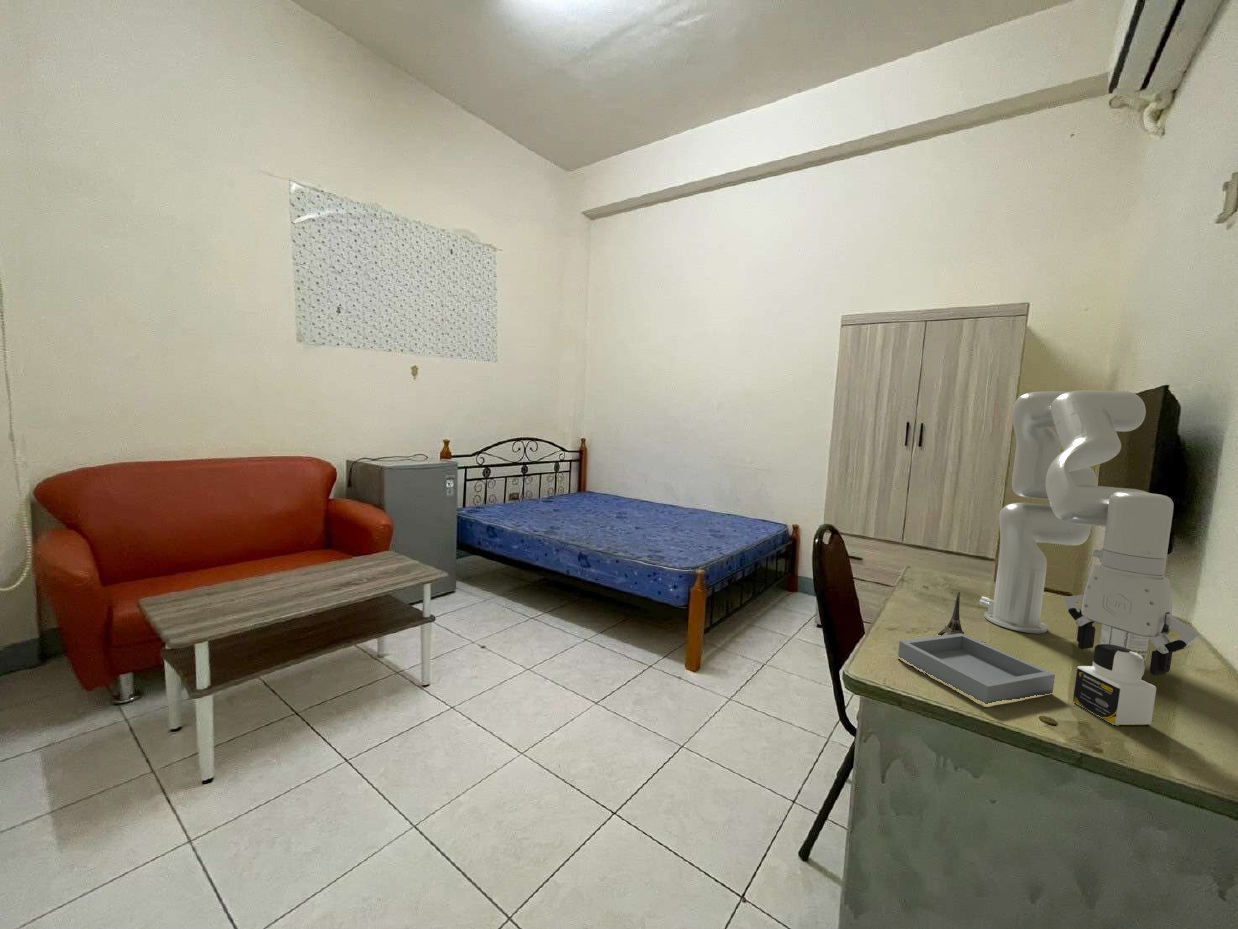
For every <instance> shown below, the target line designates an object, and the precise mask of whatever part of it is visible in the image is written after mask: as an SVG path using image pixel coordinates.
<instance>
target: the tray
mask: <svg viewBox="0 0 1238 929" xmlns="http://www.w3.org/2000/svg"><path fill="white" fill-rule="evenodd" d="M964 634H965V633H964ZM964 634H962V633H959V634H951V635H947V634H946V635H945V634H943V636H935V635H934V636H929V637H920V638H915V639H913V638H912V639H907V640H906V639H905V640H900V641H899V643H898V644H899V645H898V652H897V653H898V654H897V657H898V656H899V657H900V658H903V659H904V660H906V661H907V662H909V663H910V664H913V665H914V666H916V667H917V668H919V669H922V670H923V671H925V672H926V673H928V674H930V675H933V676H934V677H936V678H937V679H940V680H942V681H943V682H945V683H947V684H950V685H952V686H953V687H955V688H956V689H959V690H961V691H963V692H964V693H966V694H968V695H971V696H973V697H974V698H975V699H977V700H980V701H982V702H984V703H985V704H988V703H992V702H996V701H1002V700H1012V699H1020V698H1025V697H1030V696H1034V695H1036V696H1037V695H1045V694H1050V693H1053V692H1054V686H1055V678H1056V673H1054V672H1051V671H1048V670H1046V669H1044V668H1042V667H1040V666H1037V665H1035V664H1032V663H1030V662H1028V661H1026V660H1023V659H1022V658H1019V657H1016V656H1014V655H1012V654H1010V653H1007V652H1005V651H1003V650H1000V649H998V648H996V647H993V646H991V645H990V646H989V645H987V644H985V643H982V642H980V641H978V640H975V639H973V638H971V637H968V636H966V635H967V634H966V635H964Z"/></svg>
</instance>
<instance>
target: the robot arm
mask: <svg viewBox="0 0 1238 929" xmlns="http://www.w3.org/2000/svg"><path fill="white" fill-rule="evenodd" d="M1011 414H1012V415H1011V416H1012V417H1011V420H1012V425H1013V430H1014V435H1015V439H1016V440H1015V441H1016V445H1015V451H1014V452H1015V454H1014V459H1013V460H1014V461H1013V469H1012V476H1011V477H1012V478H1011V488H1012V491H1013V493H1014V494H1015V495H1017V496H1019V497H1022V498H1028V499H1036V500H1048V502H1049V504H1044V503H1043V504H1041V503H1031V502H1013V503H1009V504H1006V505H1004V507H1002V508H1001V510H1000V511H999V516H998V517H999V518H998V523H999V538H1000V539H999V542H1000V543H999V553H998V564H997V572H996V579H995V580H996V581H995V588H994V595H993V599H991V598H989V597H987V596H981V597H980V600H979V601H978V604H979V605H981V606H984V607H987V610H986V611H984V615H983V616H984V618H985V619H986V620H987V621H988V622H991V623H992V624H995V625H996V626H999V627H1002V628H1006V629H1009V630H1012V631H1018V632H1022V633H1027V634H1028V633H1029V634H1044V633H1046V632H1047V631H1048V625H1046V624H1045V623H1044V622H1042V621H1041V613H1042V606H1043V598H1044V591H1045V584H1046V578H1047V577H1046V576H1047V575H1046V574H1047V568H1048V561H1047V557H1046V555H1045V554H1044V552H1043V551H1042V550H1041V549H1040V547H1039V546H1038V544H1037V543H1043V544H1044V543H1046V544H1047V543H1048V544H1056V545H1063V546H1079V545H1082V544H1084V543H1086V541H1087V540H1088V538H1089V536H1090V533H1091V531H1092V527H1100V528H1101V527H1102V528H1105V530H1104V537H1103V538H1104V539H1103V547H1102V548H1101V550H1100V549H1095V550H1093V552H1092V555H1093V557H1094V558H1098V559H1099V563H1100V564H1094V565H1093V567H1092V570H1091V572H1090V574H1089V577H1088V580H1087V583H1086V586H1085V590H1084V594H1077V595H1070V596H1069V595H1068V596H1065V597H1063V600H1064V603H1065V605H1066V608H1067V609H1068V610H1067V611H1068V613H1069V614H1070V616H1071V617H1072V618H1073V620H1074V623H1075V625H1077V627H1078V628H1077V634H1076V635H1077V636H1076V642H1078V644H1077V648H1079V649H1081V650H1086V649H1087V650H1088V649H1093V648H1094V645H1095V638H1096V637H1095V636H1096V627H1095V626H1094V625H1093V624H1095V623H1097V624H1100V625H1102V624H1103V625H1106V626H1109V627H1112V628H1115V629H1118V630H1122V631H1125V632H1128V633H1131V634H1135V635H1138V636H1142V637H1148V638H1149V641H1150V642H1151V644H1152V645H1153V646H1154V647H1155V649H1156V650H1153V651H1152V652H1151V657H1150V658H1151V659H1150V665H1149V670H1148V672H1149V673H1150V675H1152V676H1155V677H1156V676H1163V675H1165V674H1166V673H1168V672H1170V670H1171V665H1172V657H1173V653H1175V652H1178V651H1181V650H1184V649H1187V648H1189V647H1191V645H1192V644H1193V643H1194V642H1196V641H1197V640H1198V639H1199V638H1200V637H1201V635H1200V633H1199V632H1198V631H1196V630H1195V629H1193V628H1191V627H1190V626H1189V625H1187V624H1185V623H1184V622H1183V621H1181V620H1179V619H1178V618H1177V617H1175V616H1173V595H1172V587H1171V583H1170V579H1169V577H1166V576H1165V573H1166V566H1167V565H1166V564H1167V558H1168V557H1167V556H1168V549H1169V544H1170V537H1171V536H1170V534H1171V528H1172V522H1173V516H1174V505H1175V504H1174V502H1173V500H1172V499H1171V497H1169V496H1168V495H1165V494H1164V495H1163V494H1158V493H1151V492H1148V491H1145V490H1142V489H1137V488H1125V487H1113V486H1102V485H1101V486H1100V485H1098V478H1097V475H1096V473H1095V471H1094V470H1093V469H1092V468H1091V467H1093V466H1094V467H1095V466H1097V465H1101V464H1104V463H1106V462H1108V461H1111V460H1112V459H1113V458H1115V457H1116V456H1117V455H1119V454H1120V451H1121V449H1122V443H1121V440H1120V438H1119V436H1118V432H1131V431H1134V430H1137V429H1138V428H1139V427H1140V426H1141V425H1142V424H1143V422H1144V421H1145V418H1146V414H1147V410H1146V406H1145V402H1144V401H1143V399H1142V398H1141V397H1140V396H1139V395H1138V394H1136V393H1134V392H1133V391H1132V392H1131V391H1128V390H1127V391H1126V390H1088V389H1087V390H1084V389H1083V390H1081V389H1080V390H1072V391H1063V390H1062V391H1061V390H1060V391H1059V390H1058V391H1056V390H1055V391H1054V390H1051V391H1050V390H1048V391H1047V390H1046V391H1041V390H1040V391H1032V392H1027V393H1024V394H1022V395H1020V396H1019V397H1018V398H1017V399H1016V400H1015V402H1014V405H1013V408H1012V412H1011ZM1052 428H1055V429H1056V432H1055V431H1053V429H1052ZM1056 433H1057V434H1056ZM1061 450H1062V451H1061ZM1079 603H1081V608H1079V607H1080V606H1079ZM1171 629H1173V630H1174V631H1176V632H1178V633H1179V635H1180V636H1179V637H1178V638H1177V639H1176V640H1174V641H1172V639H1171V638H1170V637H1169V636H1168V635H1169V634H1170V632H1171Z"/></svg>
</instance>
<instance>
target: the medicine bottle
mask: <svg viewBox="0 0 1238 929" xmlns="http://www.w3.org/2000/svg"><path fill="white" fill-rule="evenodd" d="M1143 665H1144V658H1143V657H1142V656H1141V655H1139V654H1138V653H1136V652H1134V651H1132V650H1130V649H1127V648H1124V647H1121V646H1117V645H1111V644H1097V645H1095V646H1094V652H1093V658H1092V665H1079V666H1077V669H1076V674H1075V680H1074V689H1073V690H1074V691H1073V696H1072V703H1073V702H1075V703H1077V704H1078V705H1081V706H1083V707H1084V708H1086V709H1087V710H1089V711H1091V712H1093V713H1094V714H1095V715H1099V716H1100V717H1101V718H1103V719H1105V720H1106V721H1109V722H1111V723H1114V724H1151V725H1152V718H1153V713H1154V707H1155V700H1156V693H1157V687H1156V686H1155V685H1153V684H1152V683H1149V682H1147V681H1145V680H1142V677H1143V676H1142V672H1143ZM1078 705H1077V706H1078ZM1087 710H1086V711H1087ZM1094 714H1093V715H1094ZM1095 715H1094V716H1095ZM1101 718H1100V719H1101ZM1106 721H1105V722H1106Z"/></svg>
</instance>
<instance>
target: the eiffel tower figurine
mask: <svg viewBox="0 0 1238 929" xmlns="http://www.w3.org/2000/svg"><path fill="white" fill-rule="evenodd" d="M961 595H962V594H961V592H960V590H958V591H957V592H956V599H955V604H954V608H953V613H952V615H951V617H950V621H949V622H948V624H947V625H944V628H942V629H943V630H940V631H939V632H938V633H937V634H938V635H941V636H942V635H945V634H946V635H951V634H959V633H962V634H965V631H963V629H962V625H961V624H962V623H961V619H960V597H961ZM983 641H984V640H982V641H980V642H982V643H987V642H986V641H985V642H983Z"/></svg>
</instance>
